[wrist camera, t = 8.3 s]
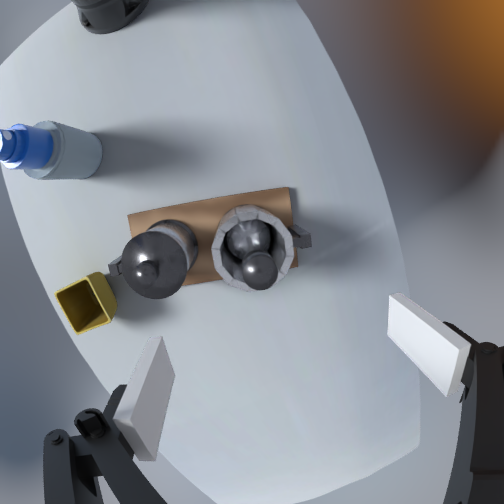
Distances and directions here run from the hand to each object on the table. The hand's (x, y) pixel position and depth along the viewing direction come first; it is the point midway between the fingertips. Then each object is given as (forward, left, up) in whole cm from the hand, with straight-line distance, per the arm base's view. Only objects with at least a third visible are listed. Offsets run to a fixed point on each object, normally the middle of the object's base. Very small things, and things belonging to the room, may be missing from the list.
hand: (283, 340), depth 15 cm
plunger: (0, 0, -32) cm, 32 cm away
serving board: (0, -6, -36) cm, 37 cm away
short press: (0, -15, -35) cm, 38 cm away
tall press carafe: (0, +1, -35) cm, 35 cm away
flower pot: (+6, -30, -37) cm, 48 cm away
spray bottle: (-20, -28, -37) cm, 50 cm away
